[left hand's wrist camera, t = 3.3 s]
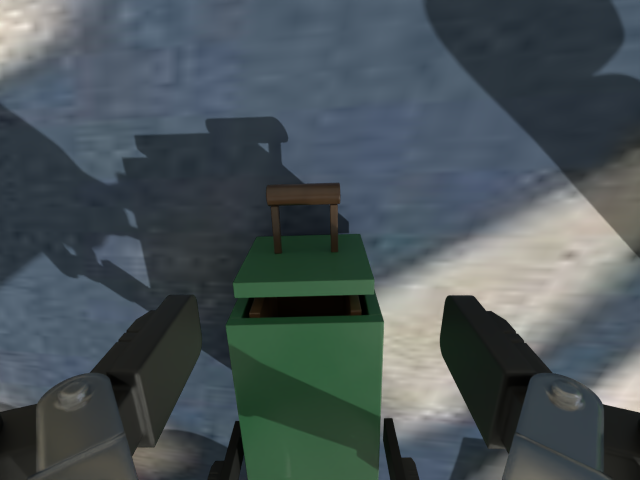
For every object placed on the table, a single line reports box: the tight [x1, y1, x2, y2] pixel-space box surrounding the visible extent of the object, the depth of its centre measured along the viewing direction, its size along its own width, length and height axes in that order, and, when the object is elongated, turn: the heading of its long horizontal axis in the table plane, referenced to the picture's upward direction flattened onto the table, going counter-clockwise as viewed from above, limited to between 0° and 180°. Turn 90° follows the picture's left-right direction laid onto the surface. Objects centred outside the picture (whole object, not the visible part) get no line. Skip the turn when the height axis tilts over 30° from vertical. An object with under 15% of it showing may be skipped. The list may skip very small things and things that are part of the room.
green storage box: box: [226, 290, 384, 480], centre depth 33 cm, size 17×11×12 cm, turn 2°
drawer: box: [233, 183, 374, 318], centre depth 31 cm, size 22×10×10 cm, turn 2°
